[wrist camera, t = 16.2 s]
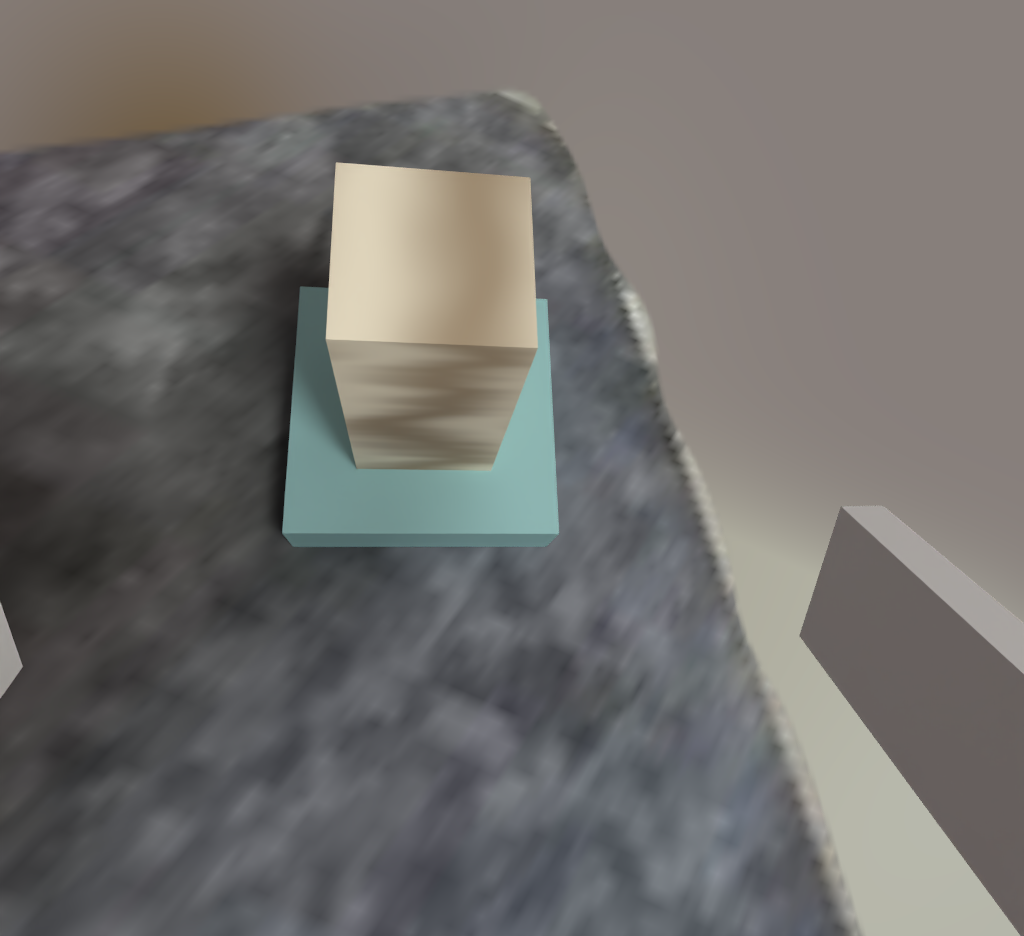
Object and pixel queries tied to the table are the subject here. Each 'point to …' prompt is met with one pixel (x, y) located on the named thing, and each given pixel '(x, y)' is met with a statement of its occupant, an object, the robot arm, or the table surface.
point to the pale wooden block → (430, 313)
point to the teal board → (413, 493)
